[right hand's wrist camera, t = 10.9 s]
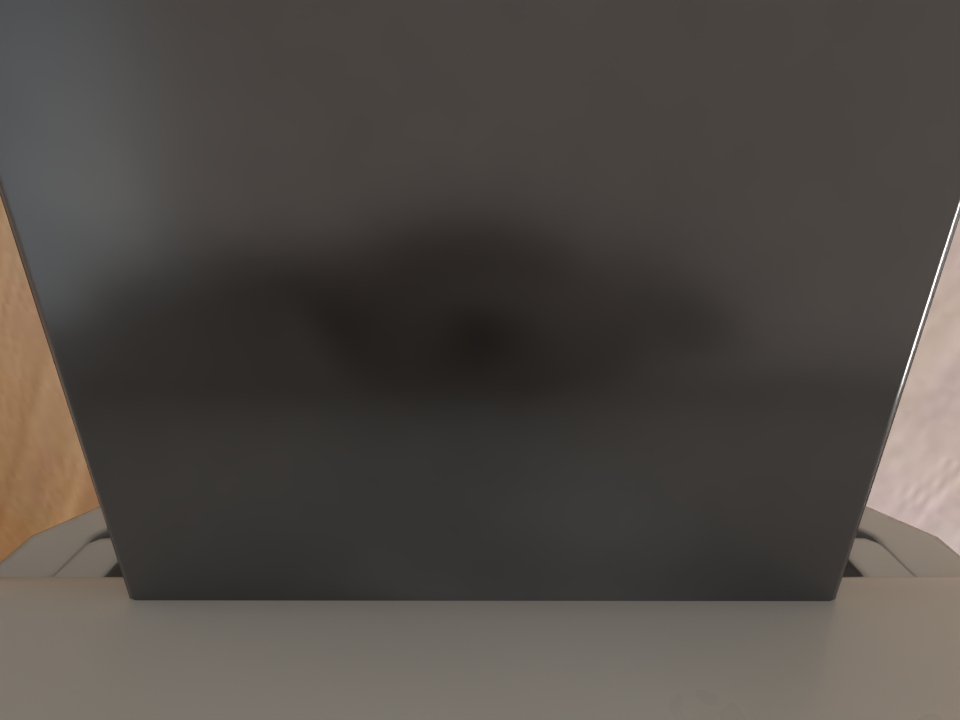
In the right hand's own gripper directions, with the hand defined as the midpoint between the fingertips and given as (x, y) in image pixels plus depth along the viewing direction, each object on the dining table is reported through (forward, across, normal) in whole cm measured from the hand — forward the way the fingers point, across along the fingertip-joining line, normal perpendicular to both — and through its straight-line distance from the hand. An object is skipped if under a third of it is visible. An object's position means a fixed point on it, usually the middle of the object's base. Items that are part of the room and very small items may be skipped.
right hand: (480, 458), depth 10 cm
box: (+5, 0, -10) cm, 11 cm away
